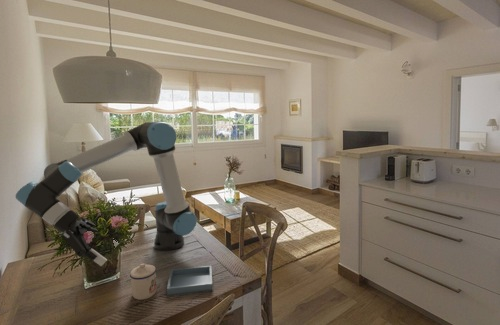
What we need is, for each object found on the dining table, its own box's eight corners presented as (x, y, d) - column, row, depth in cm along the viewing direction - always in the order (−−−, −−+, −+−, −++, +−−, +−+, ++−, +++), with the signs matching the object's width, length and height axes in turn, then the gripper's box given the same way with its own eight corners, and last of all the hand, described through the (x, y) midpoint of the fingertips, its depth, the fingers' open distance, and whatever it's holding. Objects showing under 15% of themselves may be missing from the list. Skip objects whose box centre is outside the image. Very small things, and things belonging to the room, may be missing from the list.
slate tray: (171, 276, 115) (171, 269, 115) (211, 271, 118) (211, 265, 118) (167, 296, 102) (166, 288, 102) (212, 290, 105) (212, 283, 104)
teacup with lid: (155, 299, 101) (152, 269, 99) (128, 301, 100) (125, 271, 98) (160, 280, 113) (158, 253, 111) (137, 282, 111) (134, 255, 110)
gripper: (71, 214, 109) (114, 246, 114) (32, 239, 85) (90, 280, 89) (84, 200, 109) (127, 233, 114) (49, 222, 85) (106, 263, 90)
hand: (110, 254), depth 102 cm, fingers open, 13 cm apart
